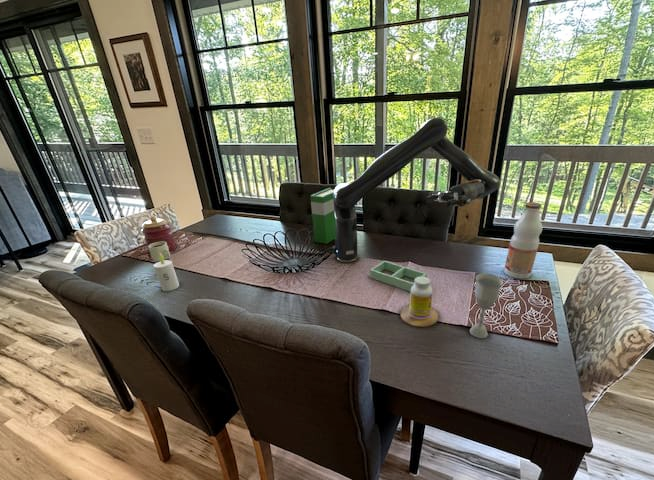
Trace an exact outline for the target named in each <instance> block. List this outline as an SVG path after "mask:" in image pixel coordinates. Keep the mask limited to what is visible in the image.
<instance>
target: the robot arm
mask: <svg viewBox="0 0 654 480" xmlns="http://www.w3.org/2000/svg"><path fill="white" fill-rule="evenodd" d="M448 128H449V127H448V123H447V121H446V120H444V118H442V117H431V118H430V119H428V120H426V121H425V122H423V123H422V124H421V126H420V127H419V129H418V130H417V131H415V132H414V133H413V134H412V135H411V136H409V137H408V138H407V139H405V140H403V141H401V142H400V143H398V144H396V145H394V146H392V147H391V148H389V149H388V150H386V151H385V152H383V153H382V154H381V155H380V156H378V157H377V158H376V159H375V160H373V162H372V163H371V164H369V166H368V167H367V168H366V169H365V171H364V172H363V173H362V174H361V175H360V176H359V177H358V178H356V179H355V180H353V181H352V182H350V183H347V182H342V183H338V184H337V185H336V186H335V187H334V189H333V190H334V192H333V201H334V214H335V225H336V238H335V239H334V245H332V246H331V247H328V248H326V249H325V250H324V251H322V252H309V251H300V250H295V249H287V248H286V249H285V248H280V247H276V246H275V247H274V246H270V245H265V244H261V243H256V242H251V241H249V240H248V241H247V240H243V239H240V238H239V239H238V238H235V237H231V236H226V235H220V234H214V233H208V232H198V231H192V234H194V235H204V236H212V237H217V238H223V239H228V240H233V241H237V242H241V243H246V244H248V245H249V244H250V245H253V246H258V247H261V248H267V249H270V250H271V249H272V250H277V251H283V252H287V253H294V254H295V253H296V254H301V255H311V256H321V255H324V254H326V253H327V252H328V251H330V252H331V253H332V254H335V259H337V261H339V262H341V263H352V262H355V261H357V260H358V258H359V255H358V222H357V221H358V220H357V218H358V217H357V211H356V210H357V209H356V204H358V203H359V202H360V201H361V200H362V199H363V198H365V197H366V195H368V194H369V193H370V192H371V191H373V190H375V189H376V188H377V187H380V186H381V185H382V184H383V183H385V182H386V181H388V180H389V179H391V178H392V177H393V176H395V175H396V174H398V173H399V172H400V171H401V170H403V169H404V168H405V167H406V166H407V165H409V164H410V163H411V162H412V161H413V160H414V159H416V158H417V157H418V156H419V155H420V154H422V153H423V152H425V151H426V150H428V149H430V148H431V149H432V150H434V151H435V152H436V153H437V154H439V155H440V156H441V157H442V158H444V159H445V160H446V161H447V162H448V163H449V164H450V165H451V166H452V167H453V168H454V169H455V170H456V171H457V172H458V173H459V174H460V175H461V176H462V177H463V178H464V179H465V180H466V181H467V182H463V183H460V184H457V185H453V186H451V187H450V188H449V190H446V191H442V190H435V191H433V192H432V191H431V192H429V195H428V196H426V199H425V202H426V204H429V203H432V202H439V203H445V204H446V205H445V207H446V208H451V207H460V208H462V207H464V206H467V205H469V204H471V202H472V201H475V200H481V199H483V198H485V197H487V196H489V195H490V194H492V193H494V192H496V191H497V190H498V189H500V187H501V180H500V178H499V176H497V175H496V174H495V173H494V172H491V171H490V170H488V169H486V168H484V167H482V166H481V165H479V163H478V162H477V161H476V160H475V159H474V158H473V157H471V156H470V154H468V153H467V152H465V151H464V150H463V149H461V148H460V147H458V146H457V145H456V144H454V143H453V142H452V140H451V139H449V138H448V137H447V134H448Z"/></svg>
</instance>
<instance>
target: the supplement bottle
mask: <svg viewBox="0 0 654 480" xmlns="http://www.w3.org/2000/svg"><path fill="white" fill-rule="evenodd" d="M413 283H415V284H414V285H413V286H412V287H411V292H410V297H409V305H410V309H409V313H410V315H411V316H412V317H413V318H415V319H418V320H424V319H427V318H428V317H429V316H430V312H431V308H432V303H433V293H434V292H433V287H432V286H431V279H430V278H429V277H428V276H427V277H417V278H415V279H414V281H413Z"/></svg>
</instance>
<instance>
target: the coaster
mask: <svg viewBox="0 0 654 480" xmlns="http://www.w3.org/2000/svg"><path fill="white" fill-rule="evenodd" d="M409 309H410V304H409V305H406V306H404V307H402V309H401V310H400V313H399V314H400V318H401V321H403V322H404V323H405V324H407V325H410V326H412V327H416V328H426V327H431V326H434V325H436V324H437V323H438V320H439V313H438V312H437V311H436V310H435V309H434V308H432V307H431V312H430V316H429V317H428V318H427V319H424V320H418V319H415V318H413V317H412V316H411V315H410V313H409Z"/></svg>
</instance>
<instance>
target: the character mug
mask: <svg viewBox="0 0 654 480" xmlns="http://www.w3.org/2000/svg"><path fill="white" fill-rule="evenodd" d="M148 248H149V250H148V252H149V251H150V252H149V254H150V256H151V260H153V261H154V262H155V263H157V262H160V257H159V252H160V253H161V254H162V256H163V258H164V260H170V261H171V259H170V257H171V251H170V252H169V249H168V246H167V243H166V242H156V243H152V244H150V245H149V246H147V249H148Z"/></svg>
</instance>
